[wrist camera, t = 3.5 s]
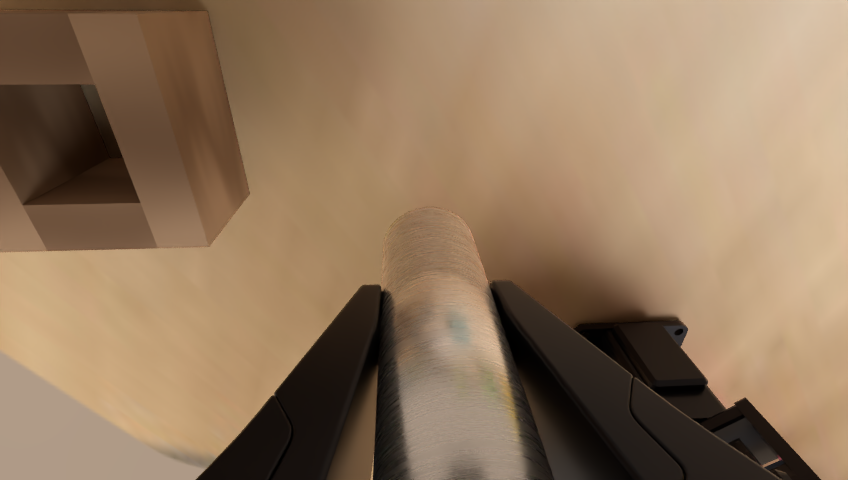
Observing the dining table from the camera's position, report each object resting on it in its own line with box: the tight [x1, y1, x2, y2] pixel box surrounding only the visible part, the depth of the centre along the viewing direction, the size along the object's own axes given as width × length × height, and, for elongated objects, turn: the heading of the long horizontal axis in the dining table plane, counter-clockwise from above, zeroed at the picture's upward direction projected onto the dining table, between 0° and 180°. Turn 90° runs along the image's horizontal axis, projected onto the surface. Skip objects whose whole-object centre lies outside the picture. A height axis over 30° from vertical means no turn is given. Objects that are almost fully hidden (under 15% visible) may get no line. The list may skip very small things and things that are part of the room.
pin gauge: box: [373, 207, 554, 480], centre depth 7 cm, size 2×2×8 cm
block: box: [0, 10, 250, 252], centre depth 14 cm, size 7×7×4 cm
